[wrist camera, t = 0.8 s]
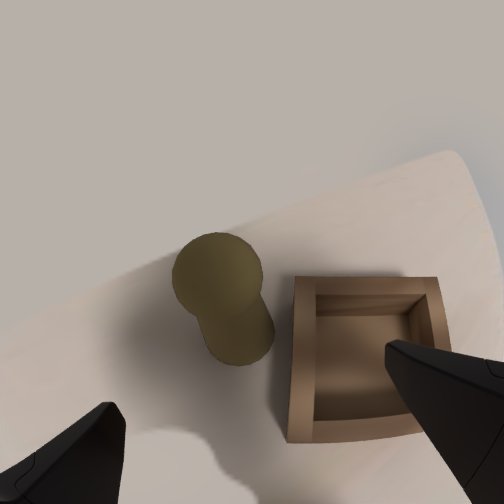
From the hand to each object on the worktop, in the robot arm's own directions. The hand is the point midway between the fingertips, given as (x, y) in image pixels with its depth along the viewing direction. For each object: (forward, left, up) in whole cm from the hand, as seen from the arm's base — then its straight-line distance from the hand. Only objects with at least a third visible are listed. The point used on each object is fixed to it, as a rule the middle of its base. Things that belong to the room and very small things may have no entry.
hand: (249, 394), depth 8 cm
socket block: (+4, -7, -14) cm, 16 cm away
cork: (+7, +3, -14) cm, 16 cm away
